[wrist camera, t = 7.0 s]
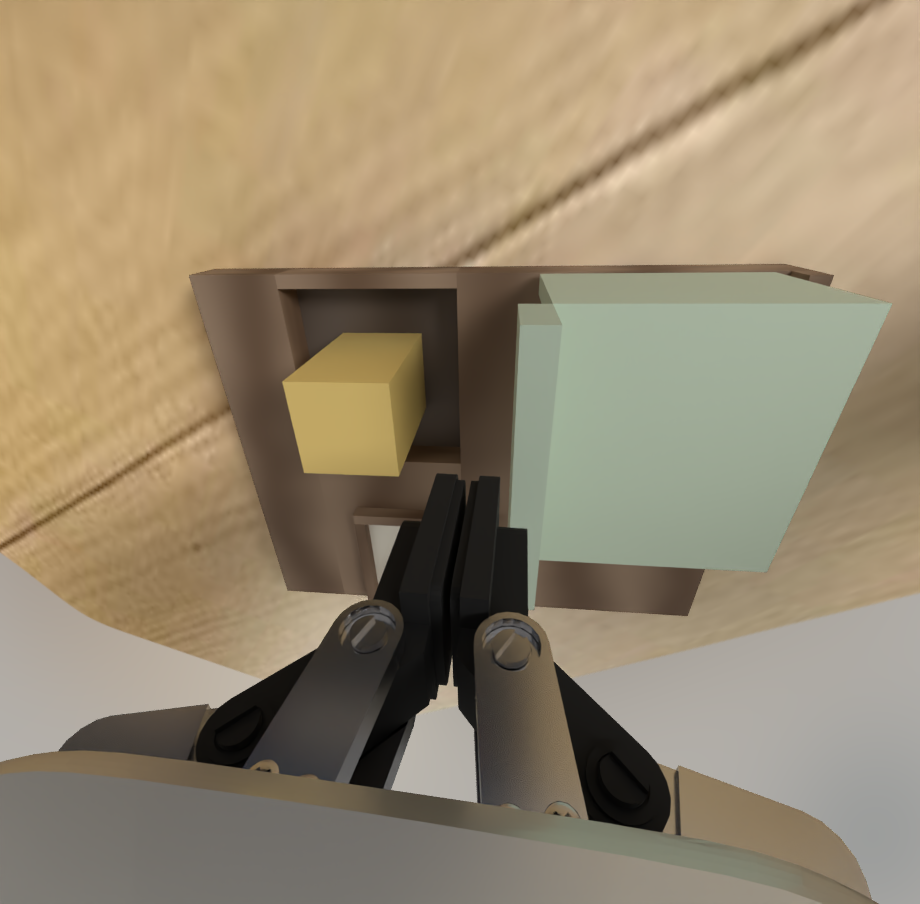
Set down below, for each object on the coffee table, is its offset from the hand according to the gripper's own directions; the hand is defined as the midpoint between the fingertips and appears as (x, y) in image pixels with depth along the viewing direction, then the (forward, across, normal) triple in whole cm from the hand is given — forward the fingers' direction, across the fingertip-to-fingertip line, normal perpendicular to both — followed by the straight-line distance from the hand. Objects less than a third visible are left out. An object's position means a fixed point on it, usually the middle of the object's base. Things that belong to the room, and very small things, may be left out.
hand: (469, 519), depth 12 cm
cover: (+10, -6, 0) cm, 12 cm away
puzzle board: (+12, +1, +5) cm, 13 cm away
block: (+12, +6, 0) cm, 13 cm away
